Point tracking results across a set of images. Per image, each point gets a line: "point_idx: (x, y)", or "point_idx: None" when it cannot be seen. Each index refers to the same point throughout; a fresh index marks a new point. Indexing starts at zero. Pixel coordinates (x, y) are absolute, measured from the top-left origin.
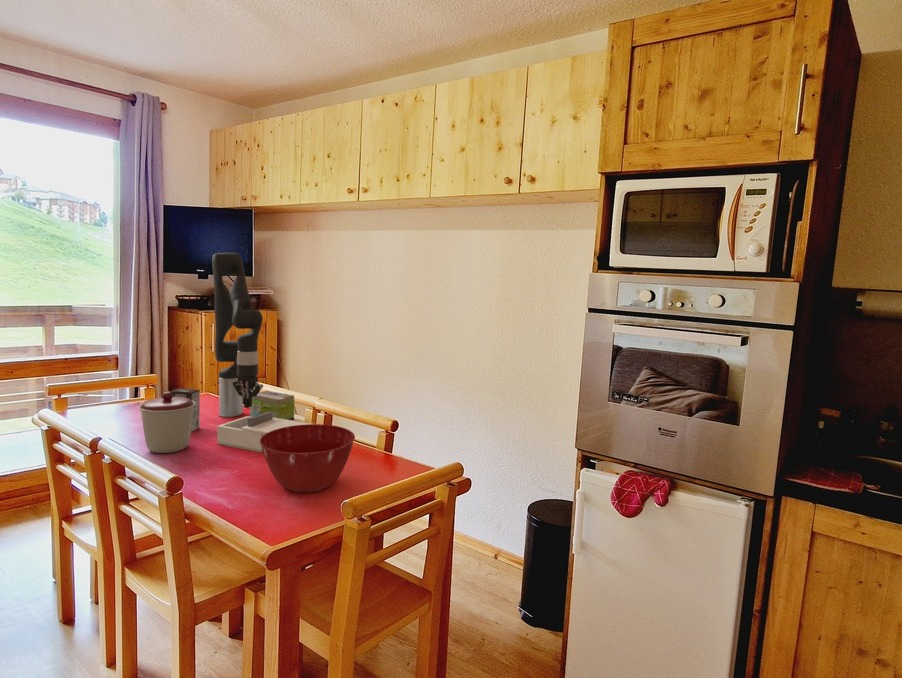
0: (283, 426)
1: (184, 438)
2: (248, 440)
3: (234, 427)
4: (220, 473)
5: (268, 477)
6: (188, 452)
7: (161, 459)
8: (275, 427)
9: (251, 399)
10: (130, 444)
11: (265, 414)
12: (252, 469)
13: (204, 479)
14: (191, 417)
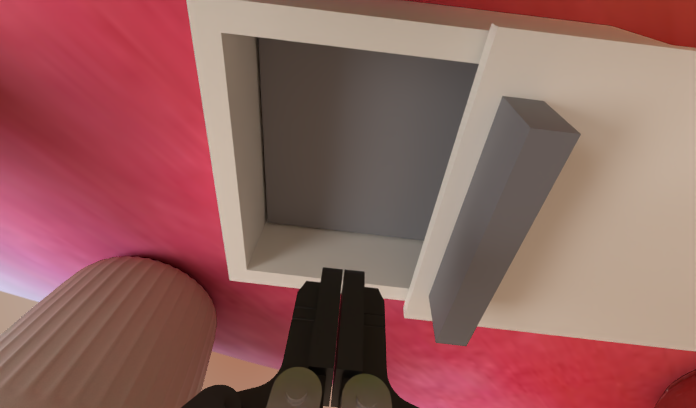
0: (685, 240)
1: (207, 343)
2: None
3: (250, 163)
4: (453, 379)
5: (601, 376)
6: (244, 300)
7: (230, 349)
8: (623, 271)
9: (384, 367)
10: (14, 292)
11: (526, 230)
12: (533, 351)
13: (435, 401)
14: (156, 404)
